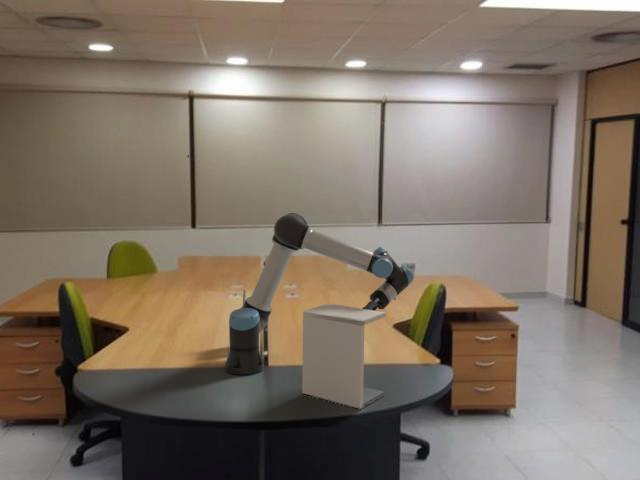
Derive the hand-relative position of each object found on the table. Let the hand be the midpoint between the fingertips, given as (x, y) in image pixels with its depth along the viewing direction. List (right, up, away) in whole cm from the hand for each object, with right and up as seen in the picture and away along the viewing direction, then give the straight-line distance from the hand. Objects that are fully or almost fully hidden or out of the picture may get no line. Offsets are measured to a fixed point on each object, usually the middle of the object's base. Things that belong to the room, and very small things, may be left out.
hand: (345, 331), depth 234 cm
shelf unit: (-2, -20, -18) cm, 27 cm away
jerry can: (-43, -13, +39) cm, 59 cm away
